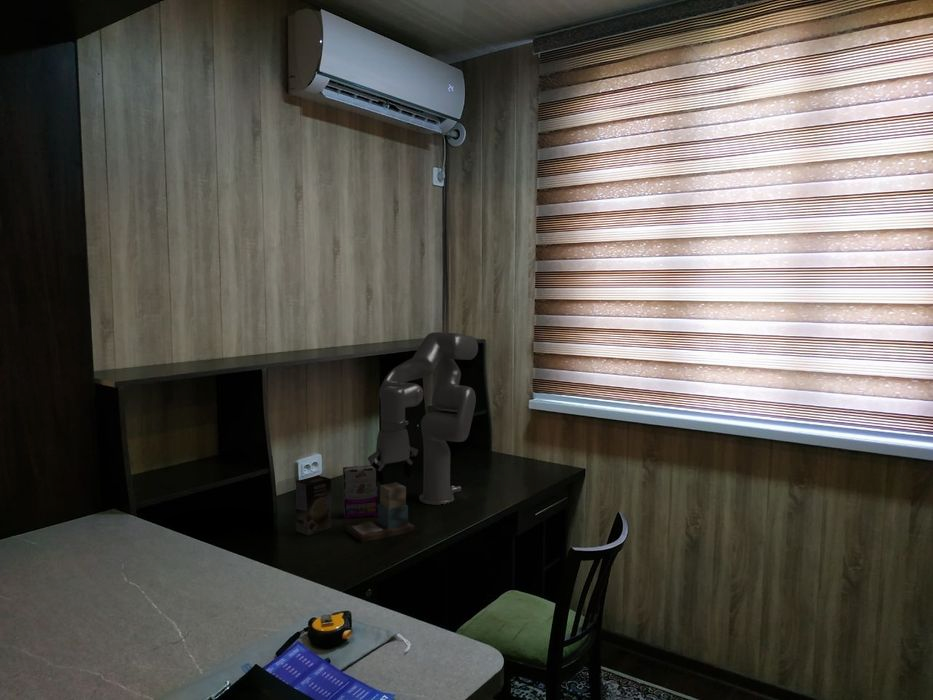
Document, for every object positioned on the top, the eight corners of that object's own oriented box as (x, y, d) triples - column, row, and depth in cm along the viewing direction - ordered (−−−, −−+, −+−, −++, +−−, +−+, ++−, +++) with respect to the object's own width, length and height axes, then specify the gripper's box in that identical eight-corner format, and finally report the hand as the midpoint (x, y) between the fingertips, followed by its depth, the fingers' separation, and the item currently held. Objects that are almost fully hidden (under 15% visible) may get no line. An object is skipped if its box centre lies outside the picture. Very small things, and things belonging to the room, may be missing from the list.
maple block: (396, 500, 217) (396, 482, 216) (405, 505, 212) (405, 487, 211) (380, 503, 214) (379, 485, 213) (389, 509, 209) (389, 490, 208)
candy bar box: (376, 511, 228) (376, 464, 227) (378, 516, 224) (378, 468, 222) (342, 514, 225) (342, 466, 224) (344, 519, 221) (343, 470, 219)
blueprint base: (396, 519, 221) (396, 497, 220) (414, 530, 211) (414, 507, 210) (345, 530, 211) (345, 507, 210) (362, 542, 201) (362, 518, 200)
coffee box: (308, 536, 206) (307, 485, 204) (295, 531, 210) (294, 480, 208) (332, 528, 213) (331, 478, 211) (319, 523, 217) (318, 474, 215)
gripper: (411, 420, 218) (411, 471, 220) (362, 427, 209) (363, 481, 211) (423, 424, 212) (423, 477, 214) (373, 432, 202) (374, 487, 205)
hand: (393, 479), depth 213 cm, fingers open, 9 cm apart
